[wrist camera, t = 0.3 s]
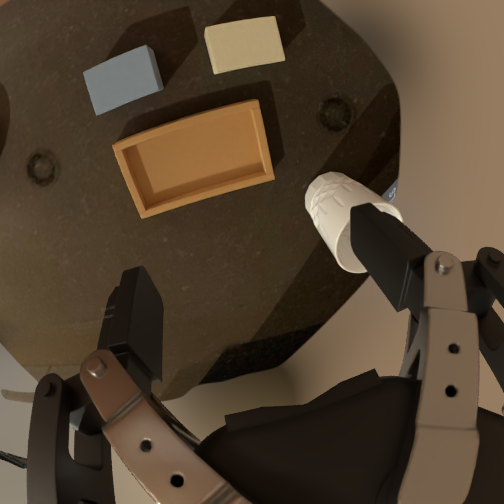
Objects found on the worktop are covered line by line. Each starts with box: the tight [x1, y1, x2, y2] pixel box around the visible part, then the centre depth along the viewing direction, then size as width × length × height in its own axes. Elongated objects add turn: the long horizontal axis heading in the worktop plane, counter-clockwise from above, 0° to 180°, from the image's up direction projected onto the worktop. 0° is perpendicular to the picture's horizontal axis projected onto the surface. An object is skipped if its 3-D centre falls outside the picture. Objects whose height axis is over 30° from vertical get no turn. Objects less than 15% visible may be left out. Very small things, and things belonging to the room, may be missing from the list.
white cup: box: [305, 172, 403, 273], centre depth 29 cm, size 8×8×10 cm
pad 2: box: [204, 16, 285, 74], centre depth 20 cm, size 4×6×4 cm
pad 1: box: [83, 45, 164, 115], centre depth 20 cm, size 4×6×4 cm
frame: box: [112, 99, 275, 219], centre depth 27 cm, size 9×15×2 cm, turn 102°
